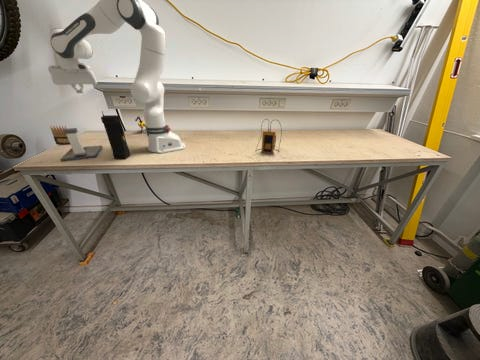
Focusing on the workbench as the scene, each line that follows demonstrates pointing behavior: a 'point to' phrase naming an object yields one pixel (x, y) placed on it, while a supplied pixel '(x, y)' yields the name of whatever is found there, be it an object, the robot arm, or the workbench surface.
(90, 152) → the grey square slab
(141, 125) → the robot dog
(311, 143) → the workbench surface
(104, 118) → the portable radio
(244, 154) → the workbench surface
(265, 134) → the multimeter
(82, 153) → the fader tab
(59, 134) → the ammunition clip
